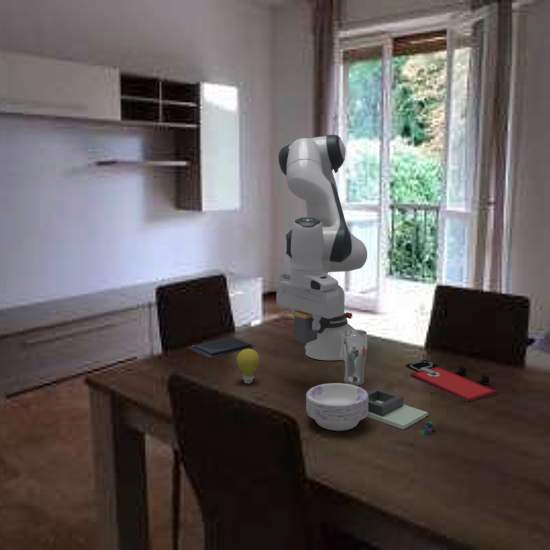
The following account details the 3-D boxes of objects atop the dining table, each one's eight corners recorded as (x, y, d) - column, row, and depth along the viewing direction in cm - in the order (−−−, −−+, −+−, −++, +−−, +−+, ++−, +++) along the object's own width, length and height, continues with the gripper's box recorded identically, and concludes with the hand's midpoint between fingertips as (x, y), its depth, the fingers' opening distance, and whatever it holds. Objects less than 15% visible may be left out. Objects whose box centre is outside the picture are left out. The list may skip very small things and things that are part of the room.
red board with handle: (429, 361, 194) (393, 370, 186) (429, 353, 193) (393, 361, 186) (506, 393, 168) (468, 404, 161) (506, 383, 168) (469, 395, 160)
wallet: (207, 355, 196) (185, 344, 208) (207, 360, 196) (185, 349, 208) (257, 344, 208) (233, 334, 219) (257, 349, 208) (233, 339, 220)
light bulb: (256, 386, 171) (256, 353, 170) (234, 385, 173) (233, 352, 171) (261, 378, 178) (261, 346, 176) (240, 377, 179) (239, 345, 177)
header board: (357, 392, 167) (357, 381, 166) (427, 416, 152) (428, 403, 151) (332, 404, 159) (332, 391, 158) (403, 429, 144) (404, 416, 143)
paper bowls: (305, 410, 155) (305, 381, 154) (364, 411, 155) (364, 381, 153) (306, 436, 140) (306, 404, 139) (371, 437, 140) (372, 405, 139)
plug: (306, 336, 168) (306, 308, 167) (317, 339, 166) (317, 311, 164) (294, 340, 165) (294, 312, 163) (305, 343, 162) (305, 315, 161)
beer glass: (339, 384, 174) (340, 334, 171) (345, 376, 180) (346, 328, 177) (363, 387, 171) (364, 336, 168) (368, 379, 178) (369, 330, 175)
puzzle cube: (423, 428, 146) (424, 419, 145) (434, 431, 144) (435, 422, 143) (416, 434, 142) (416, 425, 142) (427, 437, 141) (428, 428, 140)
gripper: (271, 274, 167) (271, 322, 170) (328, 286, 153) (327, 338, 156) (286, 271, 171) (286, 317, 174) (343, 282, 157) (342, 332, 160)
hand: (306, 327), depth 165 cm, fingers closed on plug, 4 cm apart
